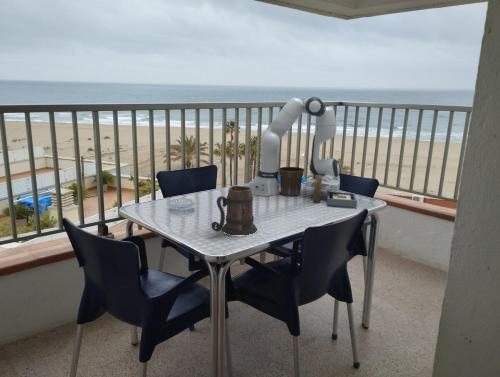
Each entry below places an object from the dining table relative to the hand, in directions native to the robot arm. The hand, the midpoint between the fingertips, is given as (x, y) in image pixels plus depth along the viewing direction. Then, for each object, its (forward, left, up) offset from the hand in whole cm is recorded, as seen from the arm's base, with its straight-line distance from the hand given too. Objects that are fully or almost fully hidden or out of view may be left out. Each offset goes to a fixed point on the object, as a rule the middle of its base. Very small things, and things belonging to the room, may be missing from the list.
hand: (317, 187), depth 211 cm
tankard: (-36, -57, -9) cm, 68 cm away
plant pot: (-17, +15, -9) cm, 24 cm away
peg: (0, 0, -9) cm, 9 cm away
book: (-22, +41, -10) cm, 48 cm away
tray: (+14, +1, -9) cm, 17 cm away
